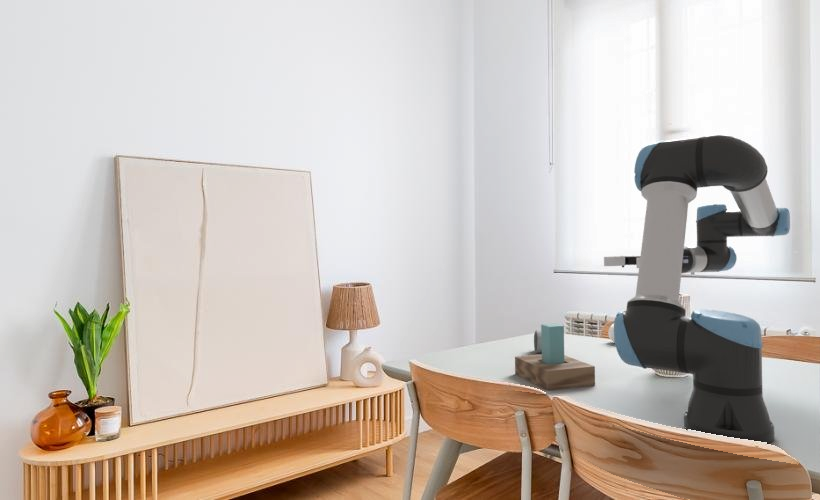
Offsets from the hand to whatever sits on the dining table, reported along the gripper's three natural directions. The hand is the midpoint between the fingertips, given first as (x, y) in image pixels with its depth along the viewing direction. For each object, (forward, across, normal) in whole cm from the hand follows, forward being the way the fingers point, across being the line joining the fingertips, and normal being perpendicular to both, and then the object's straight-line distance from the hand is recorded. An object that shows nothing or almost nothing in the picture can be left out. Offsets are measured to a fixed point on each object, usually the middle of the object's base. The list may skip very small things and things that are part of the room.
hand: (620, 262), depth 142 cm
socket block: (+18, +6, -32) cm, 37 cm away
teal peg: (+18, +6, -31) cm, 36 cm away
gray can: (+1, +39, -32) cm, 50 cm away
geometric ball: (-31, +42, -32) cm, 61 cm away
